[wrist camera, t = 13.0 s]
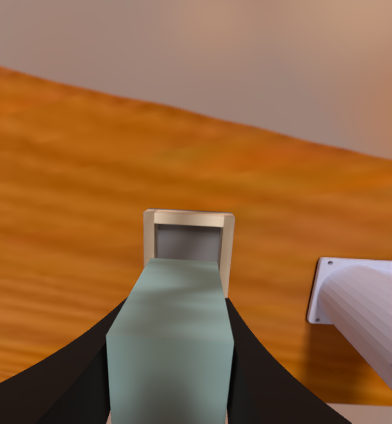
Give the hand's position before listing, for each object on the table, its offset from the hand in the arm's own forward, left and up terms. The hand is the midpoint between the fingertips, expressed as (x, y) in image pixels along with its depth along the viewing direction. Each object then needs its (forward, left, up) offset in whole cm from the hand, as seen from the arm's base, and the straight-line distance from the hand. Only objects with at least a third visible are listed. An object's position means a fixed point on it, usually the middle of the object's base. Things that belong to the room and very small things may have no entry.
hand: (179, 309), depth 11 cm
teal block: (0, 0, -2) cm, 2 cm away
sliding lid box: (0, +5, -9) cm, 10 cm away
